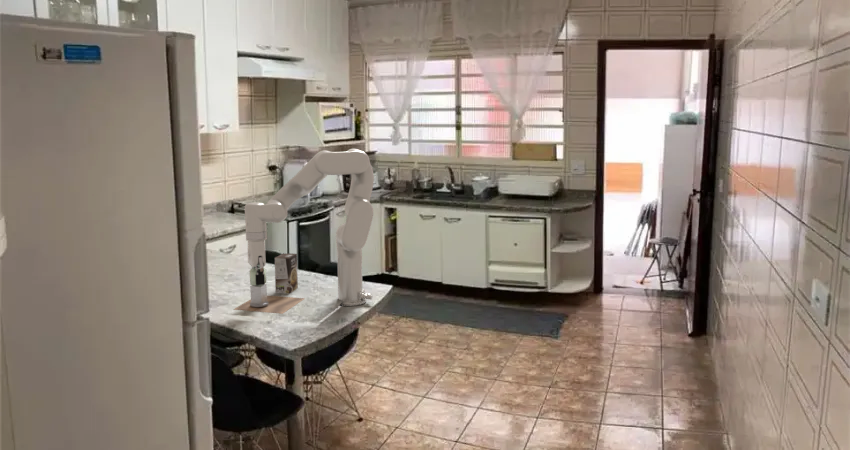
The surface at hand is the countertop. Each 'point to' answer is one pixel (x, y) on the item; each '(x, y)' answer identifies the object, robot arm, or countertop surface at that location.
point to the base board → (273, 304)
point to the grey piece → (258, 296)
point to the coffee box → (286, 273)
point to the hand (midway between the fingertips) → (258, 282)
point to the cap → (253, 278)
